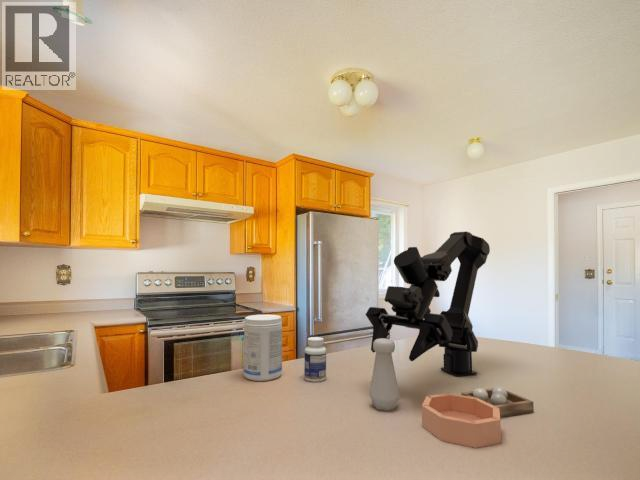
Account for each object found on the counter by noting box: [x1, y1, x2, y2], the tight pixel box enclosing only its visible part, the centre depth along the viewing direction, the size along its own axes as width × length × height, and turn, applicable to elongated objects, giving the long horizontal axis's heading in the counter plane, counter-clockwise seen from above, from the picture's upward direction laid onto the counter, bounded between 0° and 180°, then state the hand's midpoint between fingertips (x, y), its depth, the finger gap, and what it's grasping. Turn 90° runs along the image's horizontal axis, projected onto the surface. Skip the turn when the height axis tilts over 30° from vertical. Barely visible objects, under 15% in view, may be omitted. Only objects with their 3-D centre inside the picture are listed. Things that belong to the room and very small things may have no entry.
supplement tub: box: [243, 314, 283, 382], centre depth 85 cm, size 10×10×15 cm
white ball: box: [492, 386, 508, 399], centre depth 68 cm, size 3×3×3 cm
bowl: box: [421, 392, 502, 449], centre depth 58 cm, size 12×12×4 cm
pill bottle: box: [303, 336, 327, 383], centre depth 83 cm, size 5×5×10 cm
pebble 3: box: [491, 393, 507, 406], centre depth 65 cm, size 3×3×3 cm
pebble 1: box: [472, 387, 488, 402], centre depth 68 cm, size 3×3×3 cm
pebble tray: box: [460, 387, 535, 419], centre depth 67 cm, size 10×8×2 cm
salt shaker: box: [369, 338, 400, 412], centre depth 67 cm, size 6×6×13 cm
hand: (390, 355), depth 69 cm, fingers open, 9 cm apart
